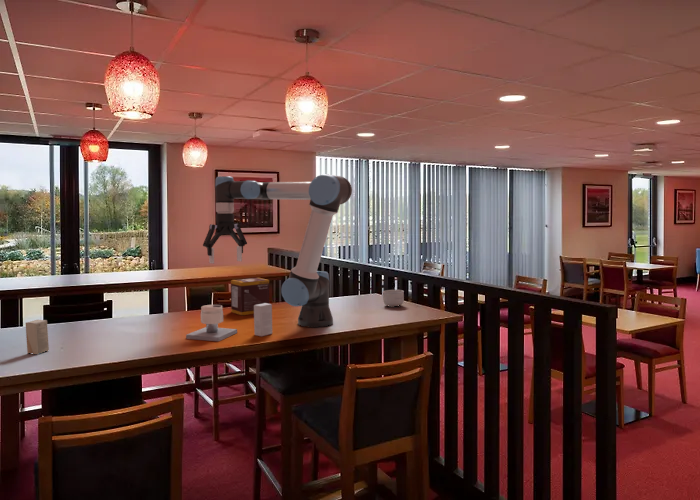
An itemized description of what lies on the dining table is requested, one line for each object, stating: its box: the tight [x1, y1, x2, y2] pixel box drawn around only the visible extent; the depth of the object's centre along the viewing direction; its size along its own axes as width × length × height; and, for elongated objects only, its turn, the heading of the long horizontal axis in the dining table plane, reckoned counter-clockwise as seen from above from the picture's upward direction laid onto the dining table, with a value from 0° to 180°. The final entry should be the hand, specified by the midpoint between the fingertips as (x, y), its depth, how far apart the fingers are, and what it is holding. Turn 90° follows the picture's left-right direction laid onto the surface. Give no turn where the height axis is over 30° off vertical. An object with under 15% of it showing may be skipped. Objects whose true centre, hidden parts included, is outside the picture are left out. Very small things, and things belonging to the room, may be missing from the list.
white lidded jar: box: [200, 304, 224, 325], centre depth 203 cm, size 8×8×7 cm
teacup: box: [382, 289, 405, 306], centre depth 266 cm, size 14×11×8 cm
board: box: [185, 326, 238, 342], centre depth 203 cm, size 14×14×2 cm
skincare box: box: [253, 303, 273, 337], centre depth 205 cm, size 6×4×12 cm
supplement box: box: [230, 277, 270, 316], centre depth 250 cm, size 10×15×16 cm
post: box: [205, 323, 219, 333], centre depth 203 cm, size 4×4×8 cm
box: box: [25, 319, 50, 354], centre depth 178 cm, size 5×4×11 cm
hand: (225, 262), depth 224 cm, fingers open, 13 cm apart
